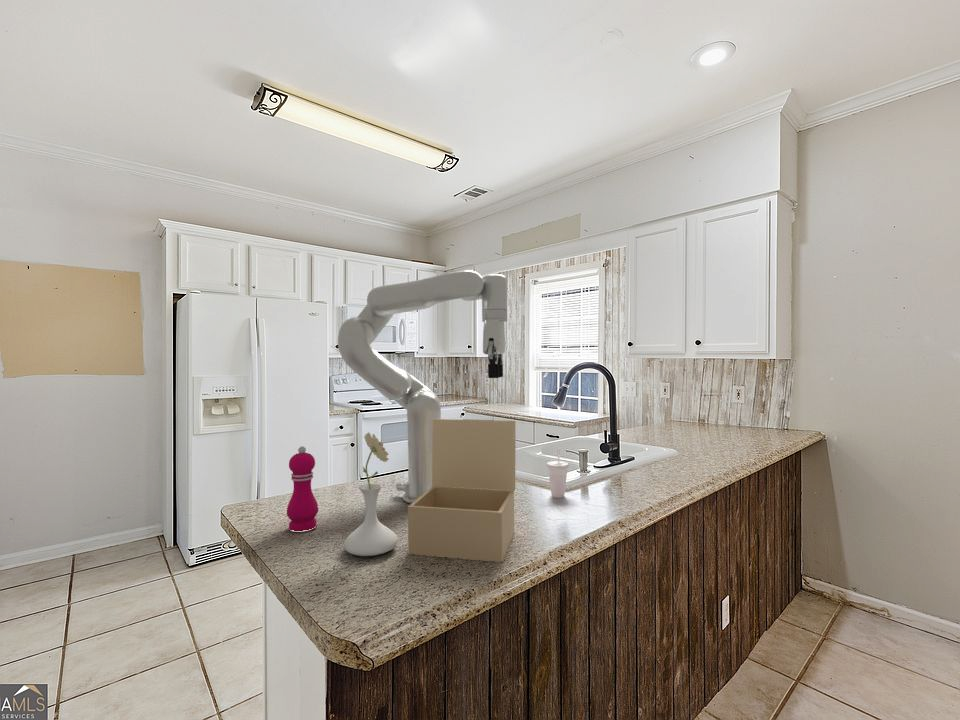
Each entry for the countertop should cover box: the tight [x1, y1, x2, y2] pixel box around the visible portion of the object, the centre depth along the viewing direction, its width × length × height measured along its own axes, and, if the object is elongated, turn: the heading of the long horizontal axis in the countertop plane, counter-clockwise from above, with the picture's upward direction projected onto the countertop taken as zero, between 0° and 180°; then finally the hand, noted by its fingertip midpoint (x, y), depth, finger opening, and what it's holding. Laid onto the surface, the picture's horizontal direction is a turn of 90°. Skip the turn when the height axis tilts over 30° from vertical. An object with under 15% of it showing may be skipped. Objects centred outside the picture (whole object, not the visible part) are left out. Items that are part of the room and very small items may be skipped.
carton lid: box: [432, 418, 517, 492], centre depth 116 cm, size 20×16×7 cm
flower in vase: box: [343, 431, 399, 557], centre depth 102 cm, size 13×11×25 cm
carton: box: [407, 486, 515, 563], centre depth 104 cm, size 20×16×10 cm
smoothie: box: [546, 447, 569, 499], centre depth 139 cm, size 6×6×14 cm
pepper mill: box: [286, 446, 319, 531], centre depth 114 cm, size 7×7×20 cm
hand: (495, 376), depth 140 cm, fingers open, 4 cm apart
